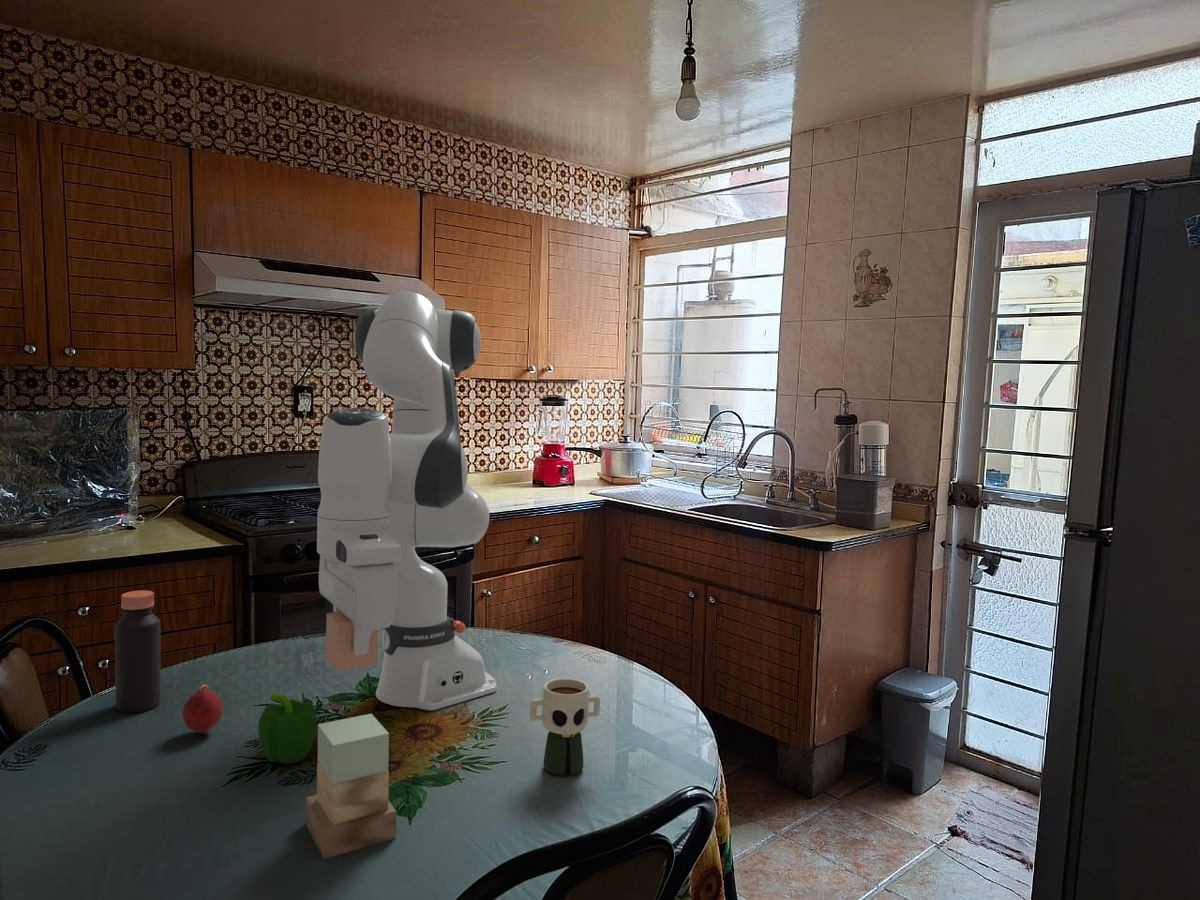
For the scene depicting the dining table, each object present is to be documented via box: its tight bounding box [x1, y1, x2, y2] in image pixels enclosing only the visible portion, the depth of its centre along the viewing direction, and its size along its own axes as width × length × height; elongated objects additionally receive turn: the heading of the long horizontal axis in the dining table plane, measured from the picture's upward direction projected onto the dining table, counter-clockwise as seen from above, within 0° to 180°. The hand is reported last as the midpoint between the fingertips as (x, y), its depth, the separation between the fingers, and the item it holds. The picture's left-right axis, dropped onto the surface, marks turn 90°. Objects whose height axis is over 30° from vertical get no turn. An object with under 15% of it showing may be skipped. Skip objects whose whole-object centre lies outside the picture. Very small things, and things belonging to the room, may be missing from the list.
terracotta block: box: [325, 611, 379, 672], centre depth 100 cm, size 5×5×6 cm
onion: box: [182, 684, 224, 735], centre depth 128 cm, size 6×6×8 cm
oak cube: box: [316, 762, 390, 825], centre depth 101 cm, size 7×7×5 cm
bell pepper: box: [257, 693, 318, 765], centre depth 121 cm, size 8×8×10 cm
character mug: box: [529, 677, 601, 776], centre depth 121 cm, size 11×7×13 cm, turn 105°
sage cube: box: [317, 713, 390, 785], centre depth 101 cm, size 7×7×5 cm
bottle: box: [114, 589, 162, 714], centre depth 137 cm, size 7×7×20 cm
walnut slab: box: [305, 794, 397, 860], centre depth 102 cm, size 9×9×4 cm
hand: (352, 645), depth 100 cm, fingers closed on terracotta block, 5 cm apart
